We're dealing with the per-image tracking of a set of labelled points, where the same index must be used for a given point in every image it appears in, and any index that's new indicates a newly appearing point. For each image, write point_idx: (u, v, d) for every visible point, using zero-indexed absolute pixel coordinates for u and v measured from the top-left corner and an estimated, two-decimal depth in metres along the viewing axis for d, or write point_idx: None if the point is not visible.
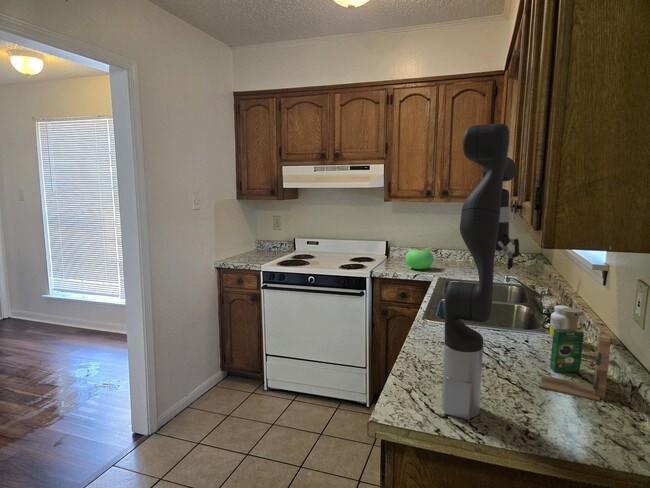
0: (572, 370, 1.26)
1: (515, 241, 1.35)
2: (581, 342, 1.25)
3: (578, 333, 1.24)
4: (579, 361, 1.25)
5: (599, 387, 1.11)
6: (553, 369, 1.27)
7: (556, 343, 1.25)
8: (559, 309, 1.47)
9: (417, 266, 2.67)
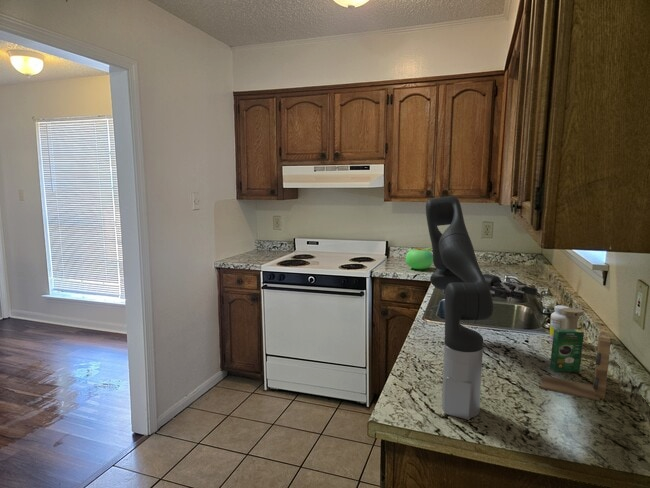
0: (572, 370, 1.26)
1: (510, 281, 1.42)
2: (581, 342, 1.25)
3: (578, 334, 1.24)
4: (579, 361, 1.25)
5: (599, 387, 1.11)
6: (553, 369, 1.27)
7: (556, 343, 1.25)
8: (559, 309, 1.47)
9: (417, 266, 2.67)
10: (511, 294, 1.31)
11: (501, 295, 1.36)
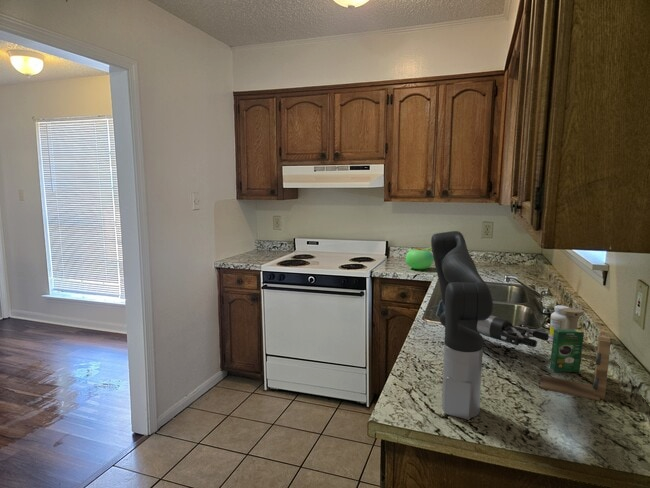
0: (572, 370, 1.26)
1: (521, 325, 1.43)
2: (581, 342, 1.25)
3: (578, 334, 1.24)
4: (579, 361, 1.25)
5: (599, 387, 1.11)
6: (553, 369, 1.27)
7: (556, 343, 1.25)
8: (559, 309, 1.47)
9: (417, 266, 2.67)
10: (523, 341, 1.31)
11: None
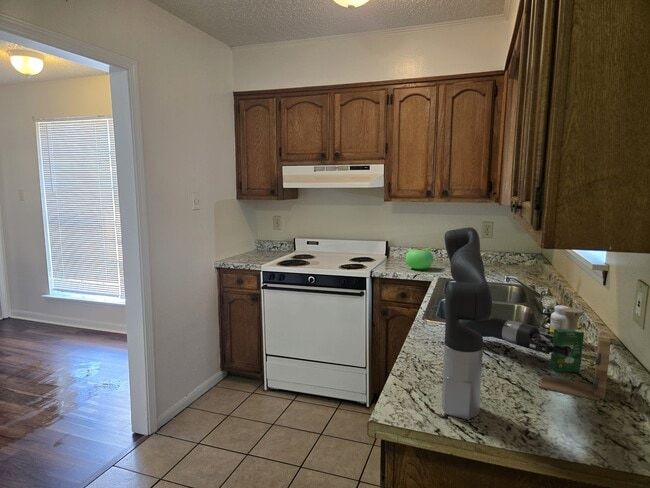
0: (572, 370, 1.26)
1: (549, 332, 1.36)
2: (581, 342, 1.25)
3: (578, 333, 1.24)
4: (579, 361, 1.25)
5: (599, 387, 1.11)
6: (553, 369, 1.27)
7: (556, 343, 1.25)
8: (559, 309, 1.47)
9: (417, 266, 2.67)
10: (554, 349, 1.24)
11: (541, 348, 1.30)
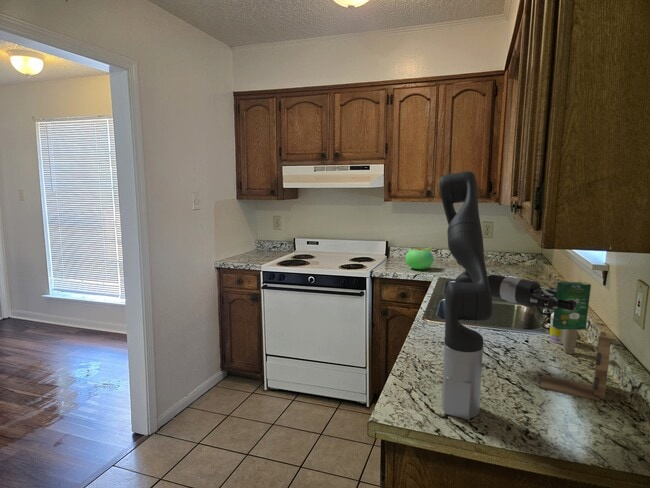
0: (577, 327, 1.13)
1: (552, 288, 1.23)
2: (588, 296, 1.12)
3: (584, 286, 1.11)
4: (585, 317, 1.13)
5: (599, 387, 1.11)
6: (556, 326, 1.14)
7: (560, 297, 1.12)
8: None
9: (417, 266, 2.67)
10: (558, 303, 1.11)
11: None
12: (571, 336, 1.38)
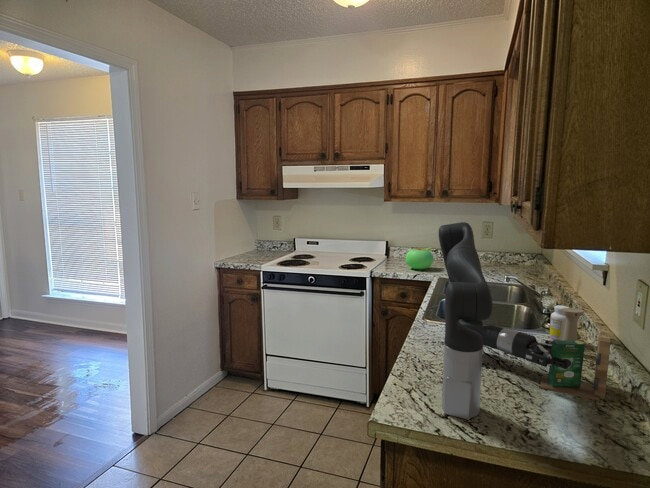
0: (572, 385, 1.16)
1: (547, 341, 1.25)
2: (582, 355, 1.14)
3: (578, 345, 1.14)
4: (580, 375, 1.15)
5: (599, 387, 1.11)
6: (551, 384, 1.17)
7: (555, 356, 1.15)
8: (559, 309, 1.47)
9: (417, 266, 2.67)
10: (552, 361, 1.14)
11: (539, 359, 1.19)
12: (571, 336, 1.38)
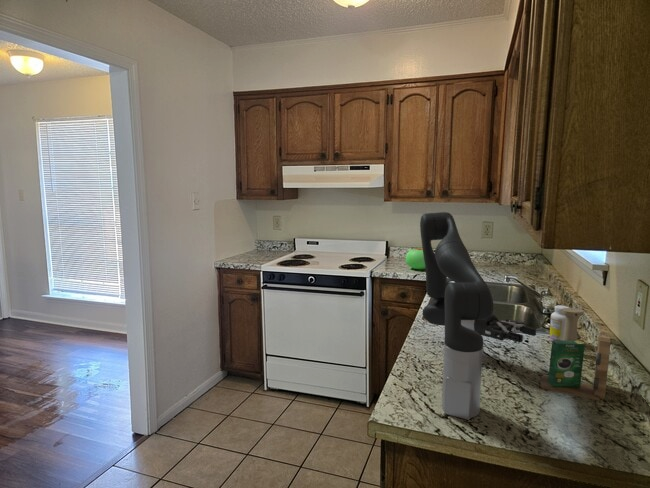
0: (572, 385, 1.16)
1: (508, 320, 1.34)
2: (582, 355, 1.14)
3: (578, 345, 1.14)
4: (580, 375, 1.15)
5: (599, 387, 1.11)
6: (551, 384, 1.17)
7: (554, 356, 1.15)
8: (559, 309, 1.47)
9: (417, 266, 2.67)
10: (508, 335, 1.22)
11: (498, 335, 1.28)
12: (571, 336, 1.38)
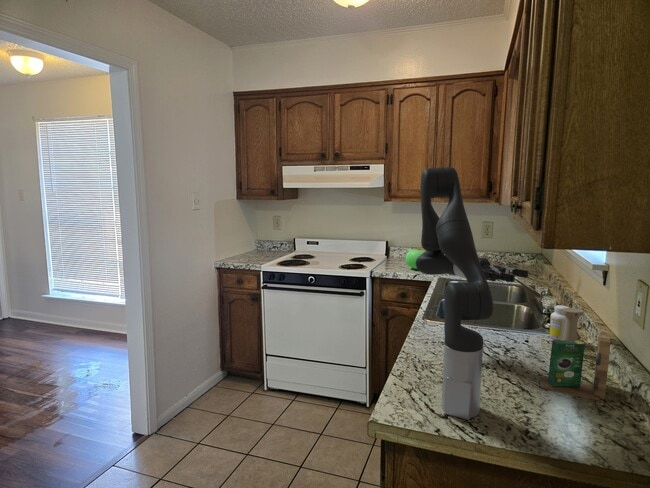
0: (572, 385, 1.16)
1: (500, 264, 1.33)
2: (582, 355, 1.14)
3: (578, 345, 1.14)
4: (580, 375, 1.15)
5: (599, 387, 1.11)
6: (551, 384, 1.17)
7: (554, 356, 1.15)
8: (559, 309, 1.47)
9: None
10: (500, 276, 1.21)
11: None
12: (571, 336, 1.38)
